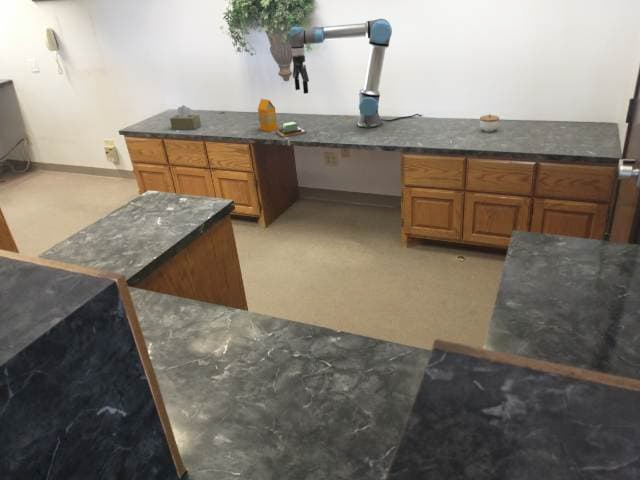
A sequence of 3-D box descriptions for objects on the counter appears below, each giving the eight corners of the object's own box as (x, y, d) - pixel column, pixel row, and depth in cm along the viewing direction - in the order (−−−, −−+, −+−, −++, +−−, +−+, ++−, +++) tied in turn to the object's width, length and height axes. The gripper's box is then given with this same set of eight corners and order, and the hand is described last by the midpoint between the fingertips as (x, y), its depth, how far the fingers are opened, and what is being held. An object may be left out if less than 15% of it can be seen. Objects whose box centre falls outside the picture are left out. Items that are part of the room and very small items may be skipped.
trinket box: (488, 134, 295) (489, 118, 291) (475, 130, 304) (476, 114, 299) (502, 130, 299) (503, 114, 295) (488, 126, 308) (490, 111, 304)
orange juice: (269, 127, 347) (265, 97, 337) (277, 129, 341) (274, 98, 332) (260, 130, 342) (256, 100, 333) (268, 132, 336) (264, 101, 327)
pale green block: (294, 129, 334) (293, 121, 331) (297, 131, 329) (296, 123, 326) (283, 131, 331) (282, 123, 329) (286, 133, 326) (285, 125, 324)
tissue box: (201, 125, 364) (197, 103, 357) (194, 129, 356) (190, 107, 349) (178, 125, 370) (174, 103, 363) (171, 129, 362) (166, 107, 354)
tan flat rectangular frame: (298, 128, 338) (298, 124, 337) (305, 132, 328) (305, 128, 327) (275, 133, 333) (275, 129, 332) (282, 137, 323) (281, 133, 322)
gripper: (285, 54, 312) (288, 89, 322) (300, 58, 291) (303, 95, 301) (296, 52, 314) (299, 87, 324) (312, 56, 294) (315, 93, 304)
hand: (301, 91), depth 313 cm, fingers open, 13 cm apart
